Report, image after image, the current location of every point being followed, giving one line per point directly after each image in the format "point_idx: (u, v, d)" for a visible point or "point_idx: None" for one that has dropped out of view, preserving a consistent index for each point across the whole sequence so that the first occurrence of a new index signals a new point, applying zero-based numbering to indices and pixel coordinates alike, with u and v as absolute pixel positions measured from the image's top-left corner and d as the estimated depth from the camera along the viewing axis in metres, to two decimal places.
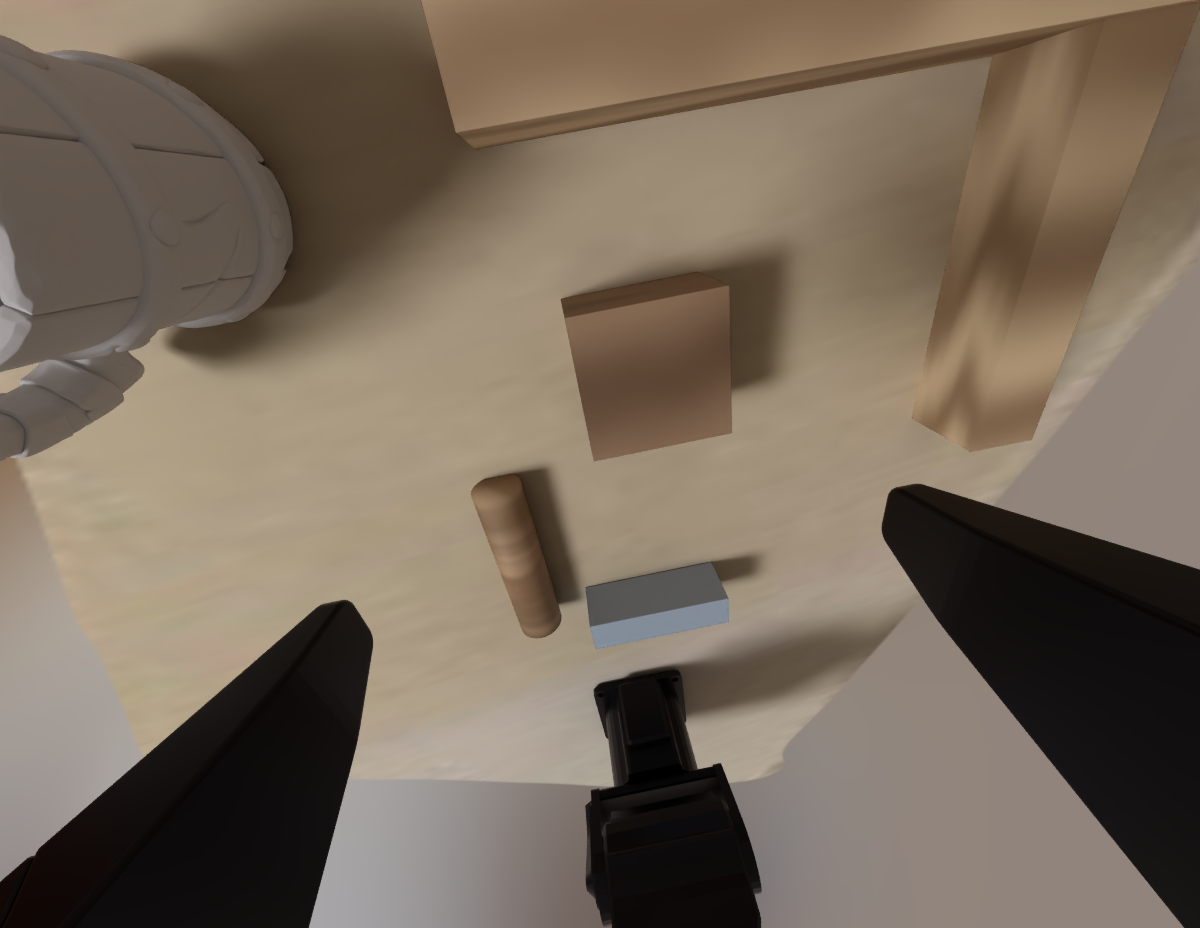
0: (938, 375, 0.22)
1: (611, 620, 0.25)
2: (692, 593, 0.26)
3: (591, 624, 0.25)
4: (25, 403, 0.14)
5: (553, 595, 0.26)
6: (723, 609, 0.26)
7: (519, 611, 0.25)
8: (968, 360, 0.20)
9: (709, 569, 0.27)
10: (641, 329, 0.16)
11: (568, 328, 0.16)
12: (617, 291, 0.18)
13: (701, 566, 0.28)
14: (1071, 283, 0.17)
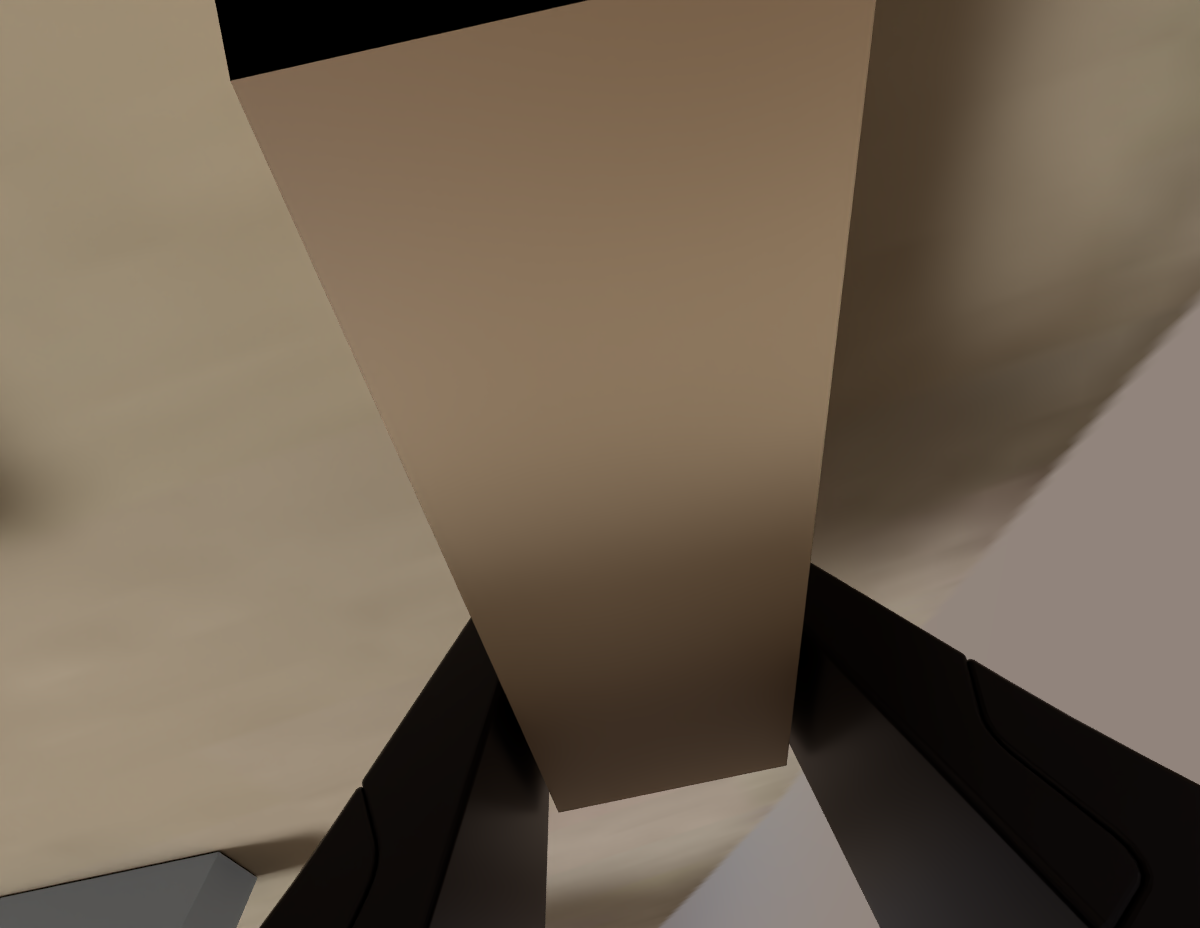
0: None
1: None
2: None
3: None
4: None
5: None
6: None
7: None
8: None
9: (194, 879, 0.12)
10: None
11: None
12: None
13: (190, 865, 0.13)
14: (684, 43, 0.02)
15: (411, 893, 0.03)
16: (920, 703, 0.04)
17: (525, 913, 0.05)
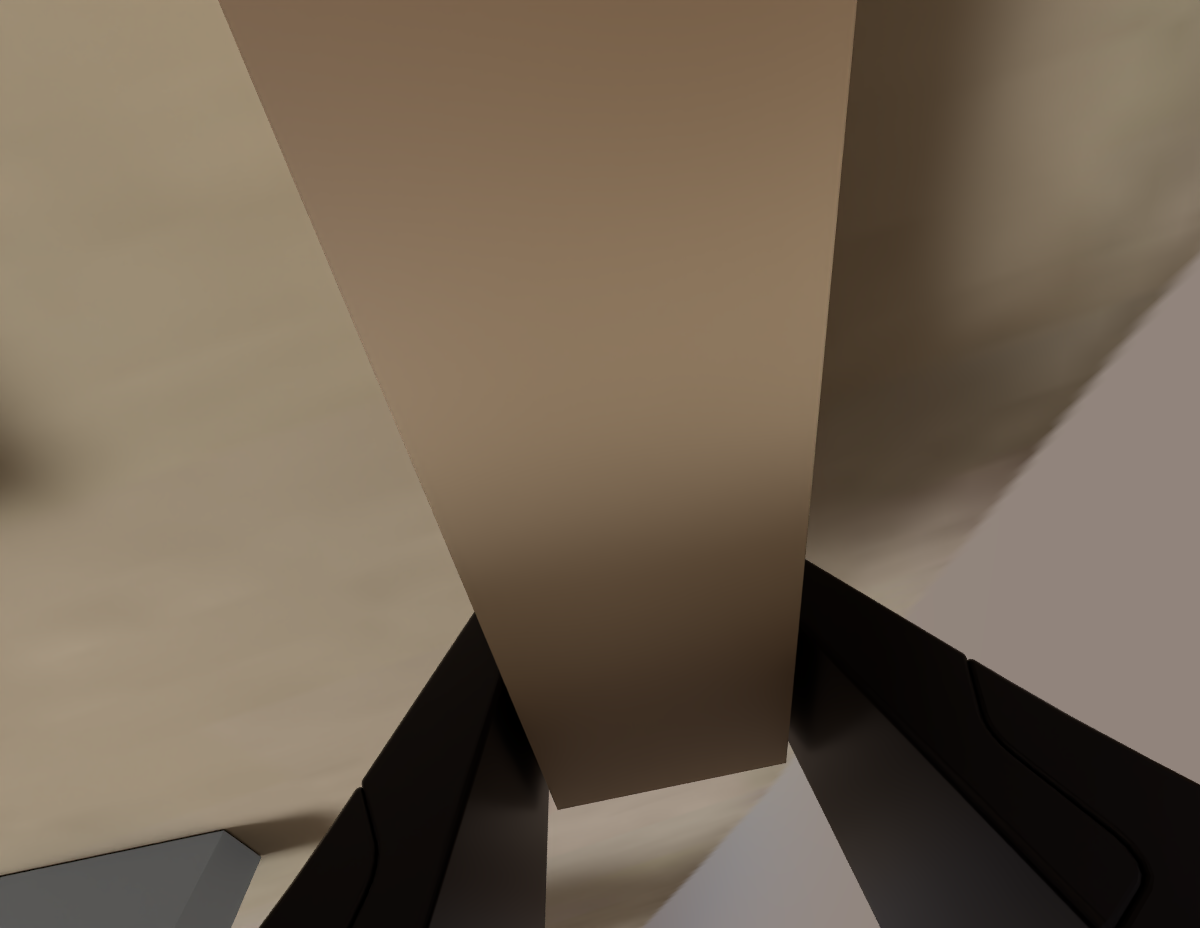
0: None
1: None
2: None
3: None
4: None
5: None
6: None
7: None
8: None
9: (200, 856, 0.13)
10: None
11: None
12: None
13: (196, 843, 0.13)
14: (675, 41, 0.02)
15: (411, 893, 0.03)
16: (920, 703, 0.04)
17: (525, 913, 0.05)
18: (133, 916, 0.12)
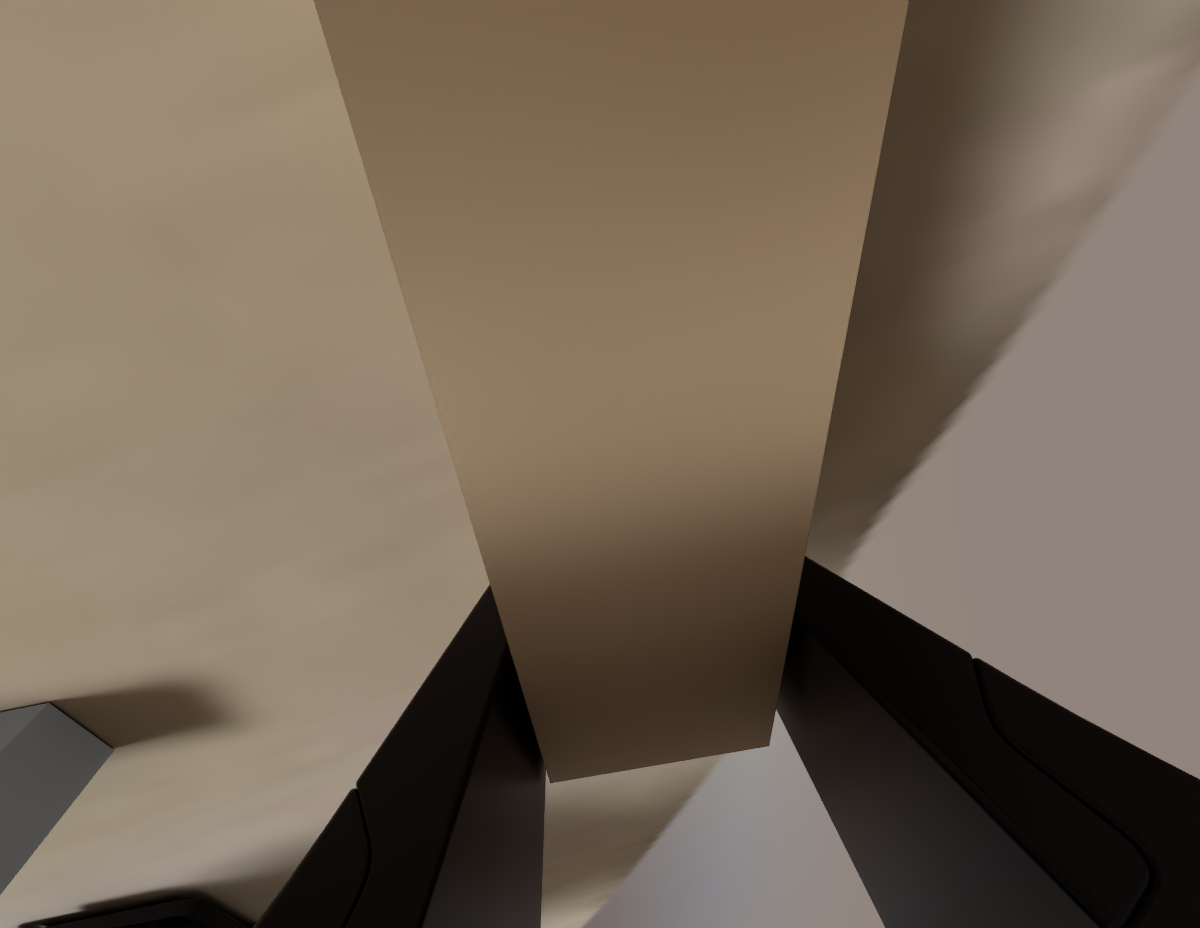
0: None
1: None
2: None
3: None
4: None
5: None
6: None
7: None
8: None
9: (6, 732, 0.09)
10: None
11: None
12: None
13: (7, 718, 0.10)
14: (735, 62, 0.02)
15: (404, 894, 0.03)
16: (926, 701, 0.04)
17: (520, 914, 0.05)
18: None
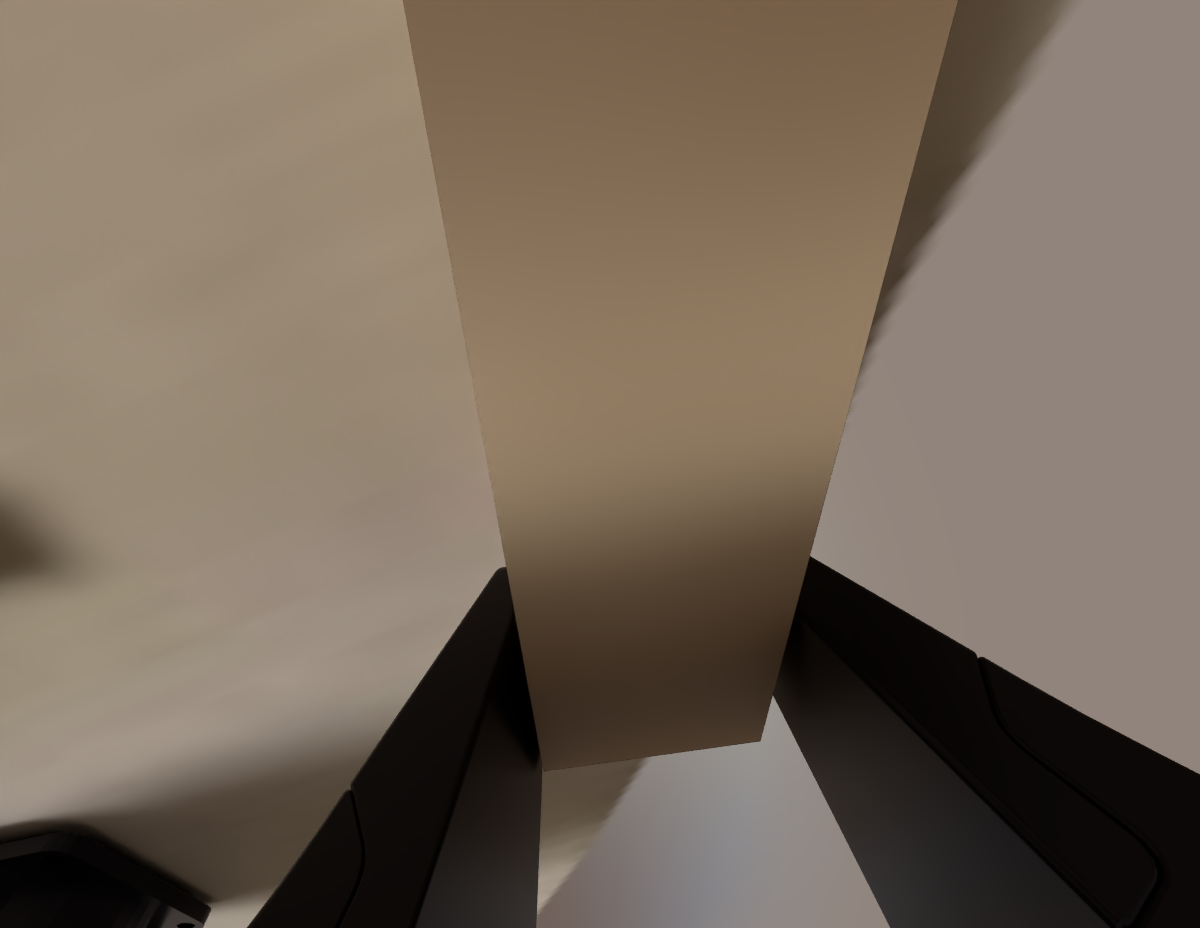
0: None
1: None
2: None
3: None
4: None
5: None
6: None
7: None
8: None
9: None
10: None
11: None
12: None
13: None
14: (787, 66, 0.03)
15: (396, 896, 0.03)
16: (932, 701, 0.04)
17: (515, 915, 0.05)
18: None
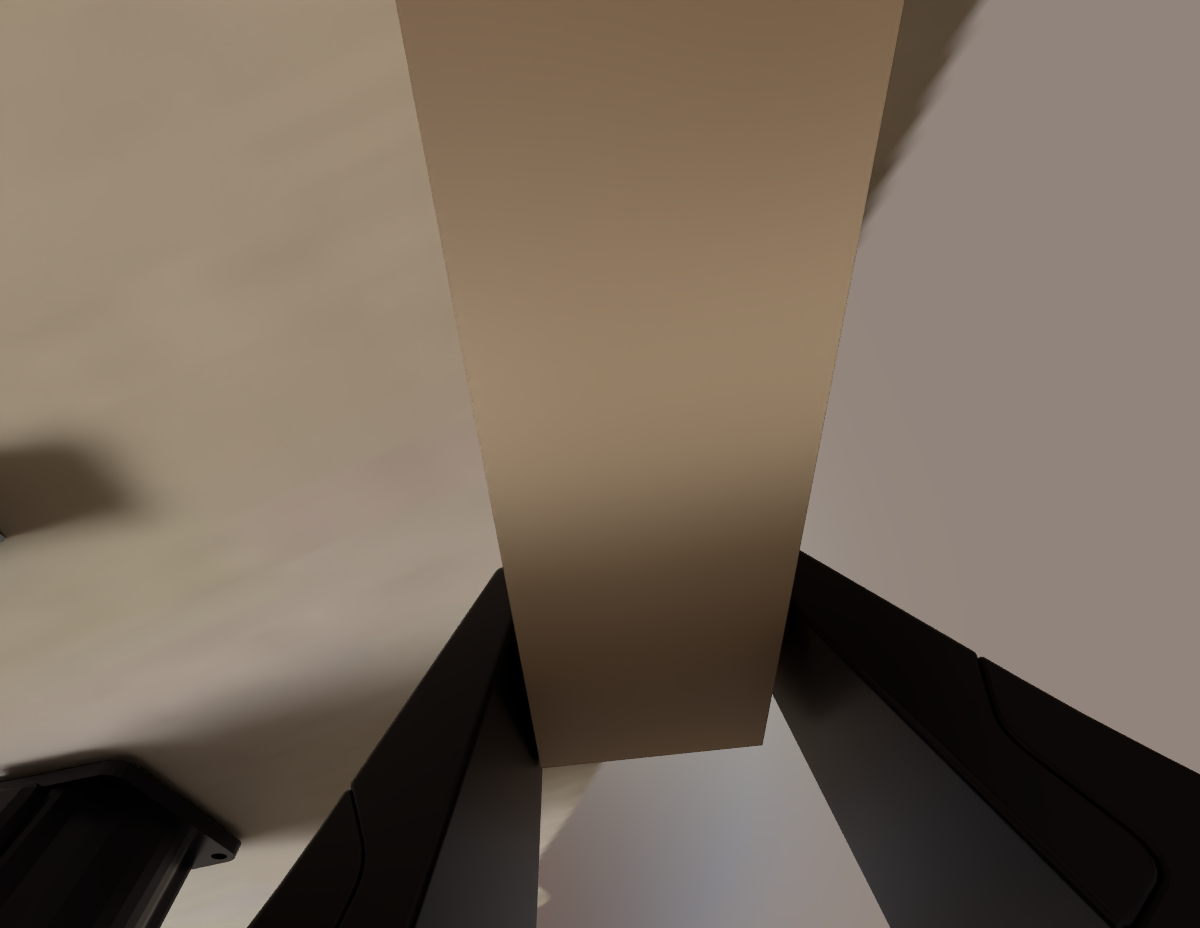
0: None
1: None
2: None
3: None
4: None
5: None
6: None
7: None
8: None
9: None
10: None
11: None
12: None
13: None
14: (748, 64, 0.03)
15: (397, 896, 0.03)
16: (931, 701, 0.04)
17: (515, 915, 0.05)
18: None
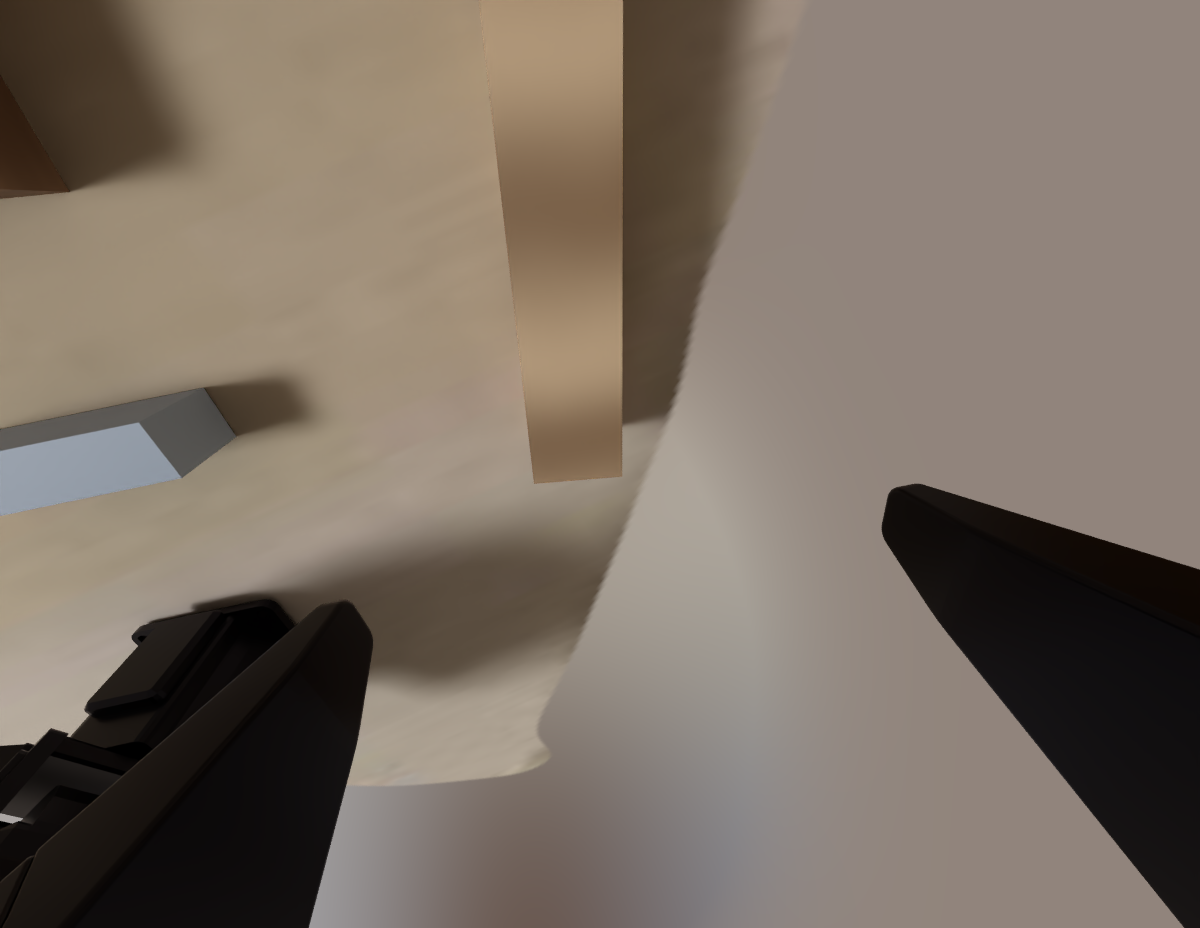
0: None
1: None
2: (102, 423, 0.14)
3: None
4: None
5: None
6: (147, 448, 0.14)
7: None
8: None
9: (183, 395, 0.15)
10: None
11: None
12: None
13: (180, 393, 0.16)
14: (587, 245, 0.12)
15: None
16: None
17: None
18: (128, 413, 0.14)
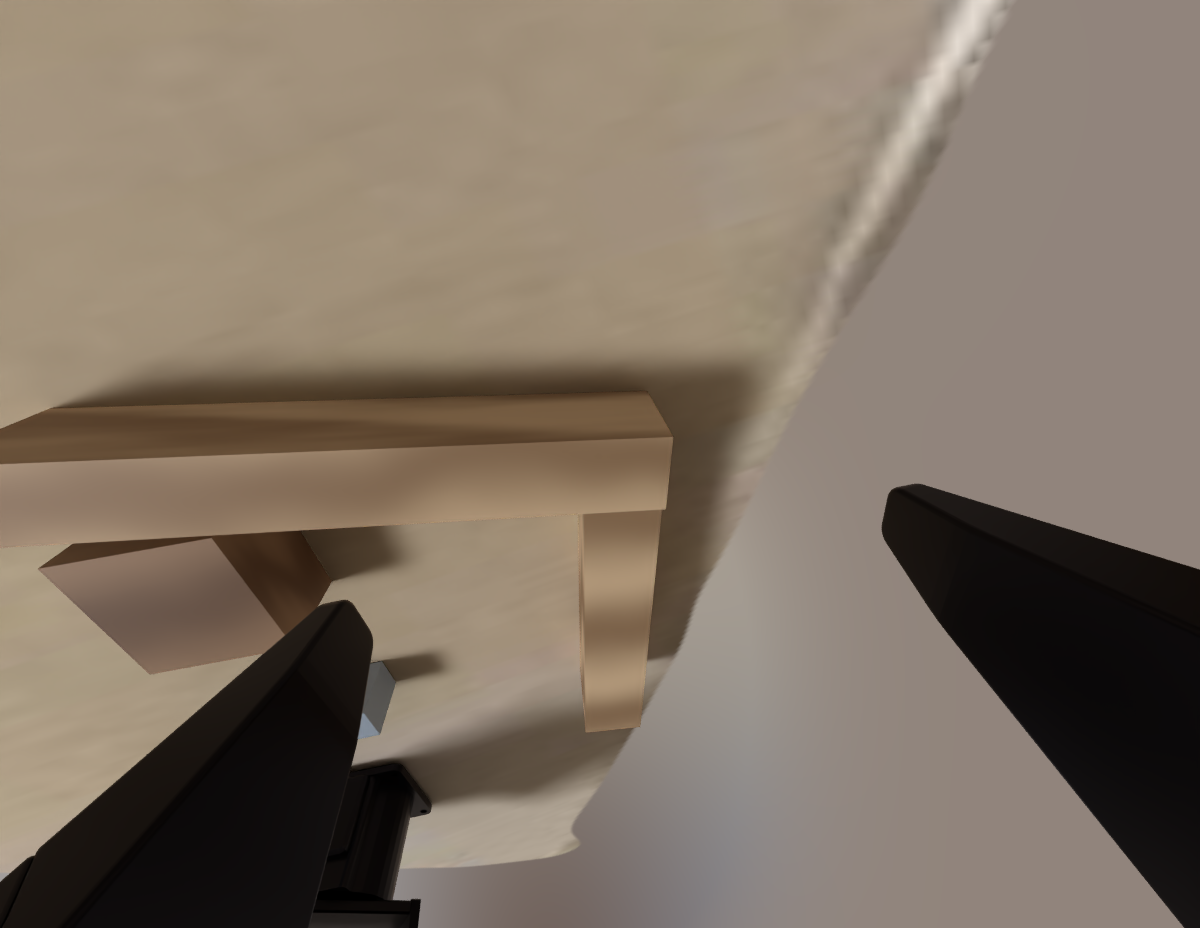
0: (581, 653, 0.25)
1: None
2: None
3: None
4: None
5: None
6: (364, 723, 0.23)
7: None
8: (583, 662, 0.23)
9: (373, 671, 0.25)
10: (132, 573, 0.16)
11: (47, 576, 0.16)
12: None
13: None
14: (629, 641, 0.21)
15: None
16: None
17: None
18: None
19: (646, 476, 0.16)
